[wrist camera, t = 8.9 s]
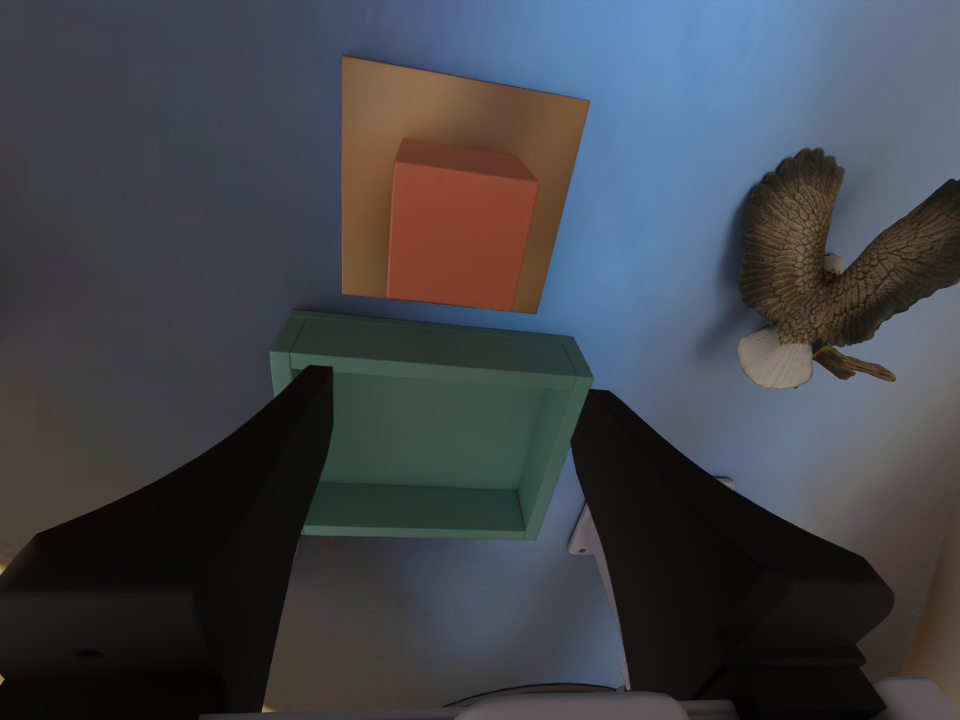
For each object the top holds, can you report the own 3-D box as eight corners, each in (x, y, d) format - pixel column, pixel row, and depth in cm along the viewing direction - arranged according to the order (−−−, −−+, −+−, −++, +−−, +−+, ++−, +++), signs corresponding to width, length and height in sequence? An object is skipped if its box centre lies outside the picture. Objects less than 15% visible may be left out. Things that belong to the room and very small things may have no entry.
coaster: (587, 99, 17) (590, 100, 17) (535, 310, 22) (536, 314, 22) (342, 55, 16) (340, 54, 16) (343, 290, 21) (341, 294, 20)
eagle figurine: (887, 324, 23) (1001, 139, 17) (900, 436, 19) (1059, 245, 13) (719, 300, 26) (762, 136, 20) (699, 391, 22) (746, 220, 16)
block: (518, 155, 18) (540, 182, 14) (497, 264, 20) (512, 311, 17) (401, 136, 17) (393, 160, 13) (395, 252, 20) (386, 298, 16)
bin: (573, 336, 23) (594, 377, 20) (525, 491, 29) (535, 540, 26) (291, 309, 21) (268, 350, 18) (304, 482, 27) (288, 535, 24)
